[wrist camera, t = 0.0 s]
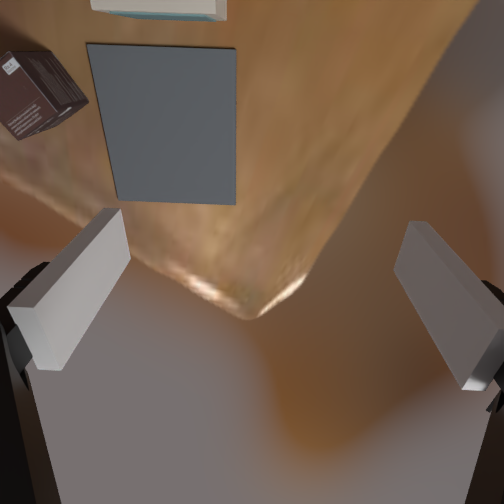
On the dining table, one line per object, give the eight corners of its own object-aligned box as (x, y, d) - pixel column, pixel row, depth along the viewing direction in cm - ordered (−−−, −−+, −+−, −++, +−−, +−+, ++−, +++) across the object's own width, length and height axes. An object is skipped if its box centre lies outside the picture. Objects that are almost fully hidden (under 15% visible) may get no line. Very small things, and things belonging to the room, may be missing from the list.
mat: (88, 44, 35) (86, 44, 35) (236, 49, 35) (235, 49, 35) (119, 199, 45) (118, 200, 45) (235, 203, 45) (235, 205, 44)
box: (55, 127, 40) (16, 142, 34) (15, 79, 37) (-35, 86, 31) (91, 101, 38) (58, 112, 32) (52, 49, 36) (7, 49, 29)
